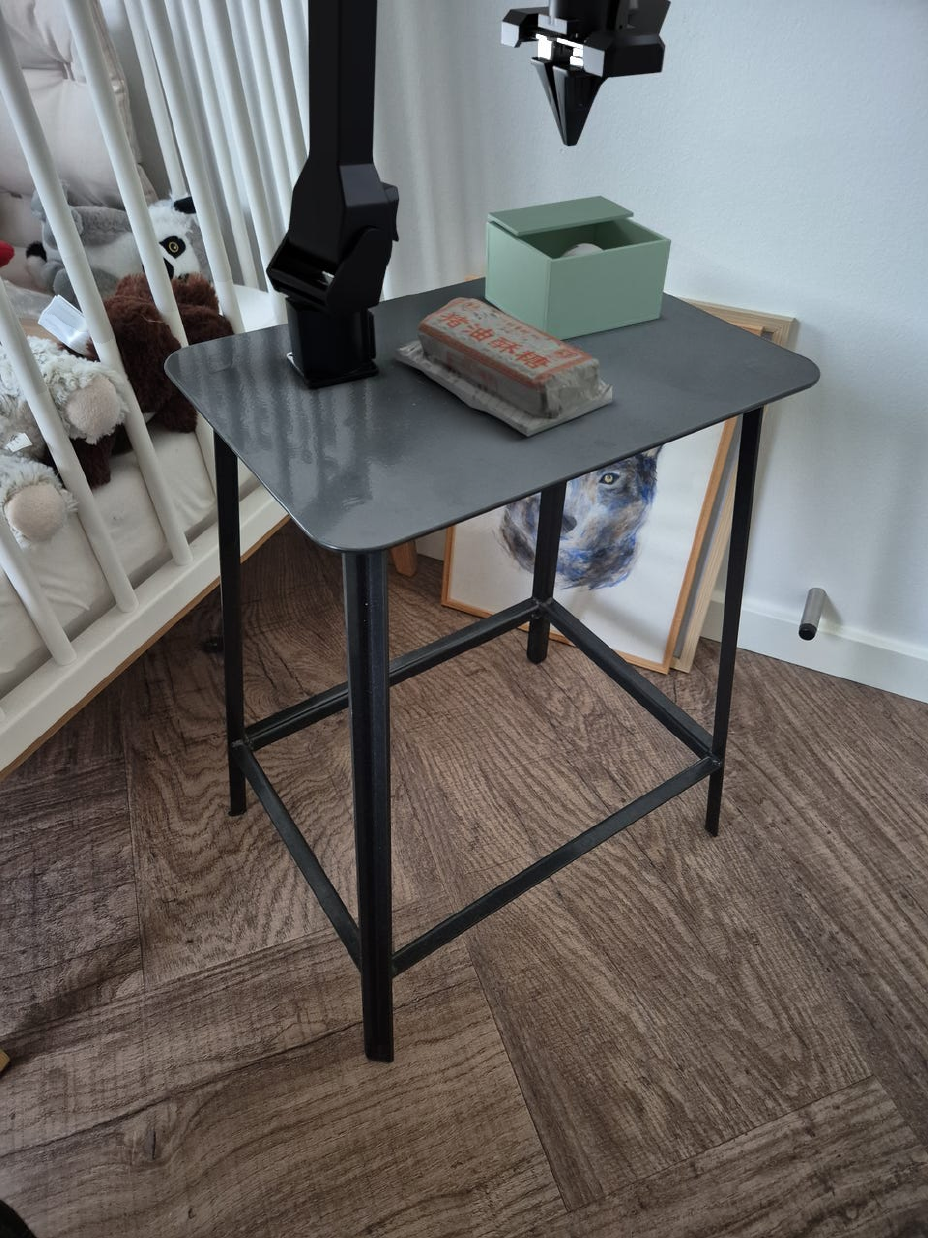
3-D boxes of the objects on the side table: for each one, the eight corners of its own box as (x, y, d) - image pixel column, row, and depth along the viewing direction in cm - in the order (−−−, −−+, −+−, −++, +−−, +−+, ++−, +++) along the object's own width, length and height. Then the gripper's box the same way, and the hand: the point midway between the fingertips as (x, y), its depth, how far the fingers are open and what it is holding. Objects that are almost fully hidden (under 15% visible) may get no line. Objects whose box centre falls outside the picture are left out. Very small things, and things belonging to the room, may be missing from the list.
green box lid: (517, 236, 81) (517, 231, 81) (487, 217, 85) (487, 212, 85) (633, 216, 86) (634, 212, 85) (600, 199, 89) (600, 195, 89)
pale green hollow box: (545, 343, 82) (551, 261, 77) (485, 298, 90) (486, 221, 85) (659, 318, 87) (671, 239, 82) (592, 277, 95) (599, 203, 90)
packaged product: (623, 349, 70) (530, 385, 66) (616, 404, 73) (527, 442, 69) (479, 281, 81) (390, 308, 76) (478, 332, 84) (393, 361, 79)
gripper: (732, -52, 72) (697, 158, 82) (603, -69, 84) (587, 116, 95) (618, -47, 68) (596, 173, 78) (501, -65, 80) (496, 127, 91)
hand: (570, 145), depth 86 cm, fingers closed
